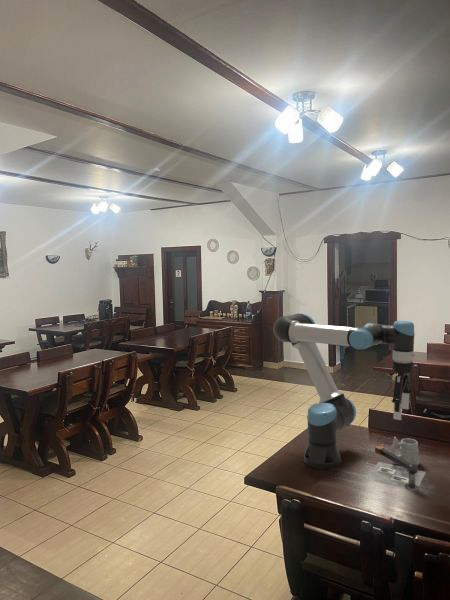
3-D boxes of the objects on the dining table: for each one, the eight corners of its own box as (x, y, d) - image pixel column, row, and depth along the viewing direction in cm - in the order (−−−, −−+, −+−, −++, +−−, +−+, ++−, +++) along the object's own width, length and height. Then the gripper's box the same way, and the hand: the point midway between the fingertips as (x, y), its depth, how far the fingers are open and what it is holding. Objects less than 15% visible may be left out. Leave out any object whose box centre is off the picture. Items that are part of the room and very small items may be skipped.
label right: (390, 480, 170) (390, 478, 170) (393, 475, 173) (393, 474, 173) (407, 484, 167) (407, 482, 167) (409, 479, 170) (409, 478, 170)
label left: (377, 471, 177) (377, 470, 177) (380, 467, 181) (380, 466, 180) (393, 475, 174) (393, 474, 174) (395, 471, 177) (395, 469, 177)
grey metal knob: (403, 490, 164) (403, 473, 163) (406, 484, 168) (406, 467, 167) (417, 494, 161) (417, 476, 161) (420, 488, 165) (420, 470, 165)
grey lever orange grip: (419, 472, 163) (419, 466, 163) (411, 474, 162) (411, 468, 161) (381, 450, 182) (381, 445, 182) (374, 452, 181) (374, 447, 180)
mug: (423, 468, 181) (423, 439, 180) (394, 470, 180) (394, 441, 179) (413, 460, 188) (413, 431, 187) (386, 461, 187) (386, 433, 186)
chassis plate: (366, 480, 172) (366, 478, 172) (378, 463, 186) (378, 461, 186) (416, 493, 162) (416, 491, 162) (425, 474, 176) (425, 472, 176)
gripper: (406, 369, 164) (404, 426, 166) (419, 355, 185) (417, 406, 187) (384, 366, 168) (383, 422, 170) (399, 353, 189) (398, 403, 191)
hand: (401, 413), depth 178 cm, fingers open, 13 cm apart
